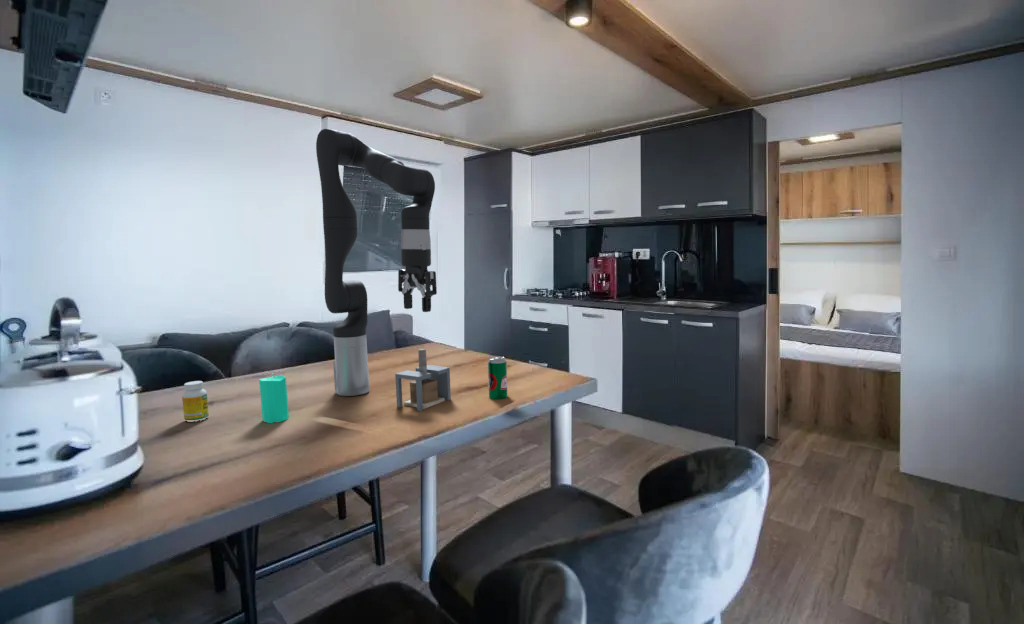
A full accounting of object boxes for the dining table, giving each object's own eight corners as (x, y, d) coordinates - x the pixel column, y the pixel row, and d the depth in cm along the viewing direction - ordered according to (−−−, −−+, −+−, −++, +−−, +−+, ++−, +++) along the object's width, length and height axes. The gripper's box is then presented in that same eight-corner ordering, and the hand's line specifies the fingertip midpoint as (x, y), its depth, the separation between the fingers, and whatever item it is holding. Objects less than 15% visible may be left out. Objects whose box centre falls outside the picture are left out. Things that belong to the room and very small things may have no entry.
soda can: (505, 404, 136) (504, 360, 134) (487, 403, 137) (485, 359, 135) (509, 399, 141) (508, 356, 139) (491, 398, 142) (490, 356, 140)
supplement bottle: (185, 418, 130) (182, 381, 129) (210, 415, 133) (206, 379, 132) (183, 424, 125) (179, 386, 124) (208, 421, 128) (204, 383, 127)
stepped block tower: (403, 405, 133) (401, 351, 131) (424, 397, 139) (422, 346, 138) (424, 408, 129) (421, 353, 128) (444, 400, 136) (442, 348, 134)
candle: (263, 424, 124) (259, 376, 123) (262, 418, 129) (258, 371, 128) (289, 420, 127) (286, 372, 125) (288, 414, 132) (284, 368, 131)
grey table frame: (364, 407, 137) (362, 370, 135) (402, 394, 148) (400, 360, 147) (442, 422, 122) (440, 381, 121) (477, 407, 134) (475, 369, 133)
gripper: (388, 247, 134) (390, 308, 136) (419, 247, 124) (420, 314, 126) (413, 247, 139) (414, 306, 141) (444, 247, 129) (445, 311, 131)
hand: (417, 310), depth 133 cm, fingers open, 8 cm apart
